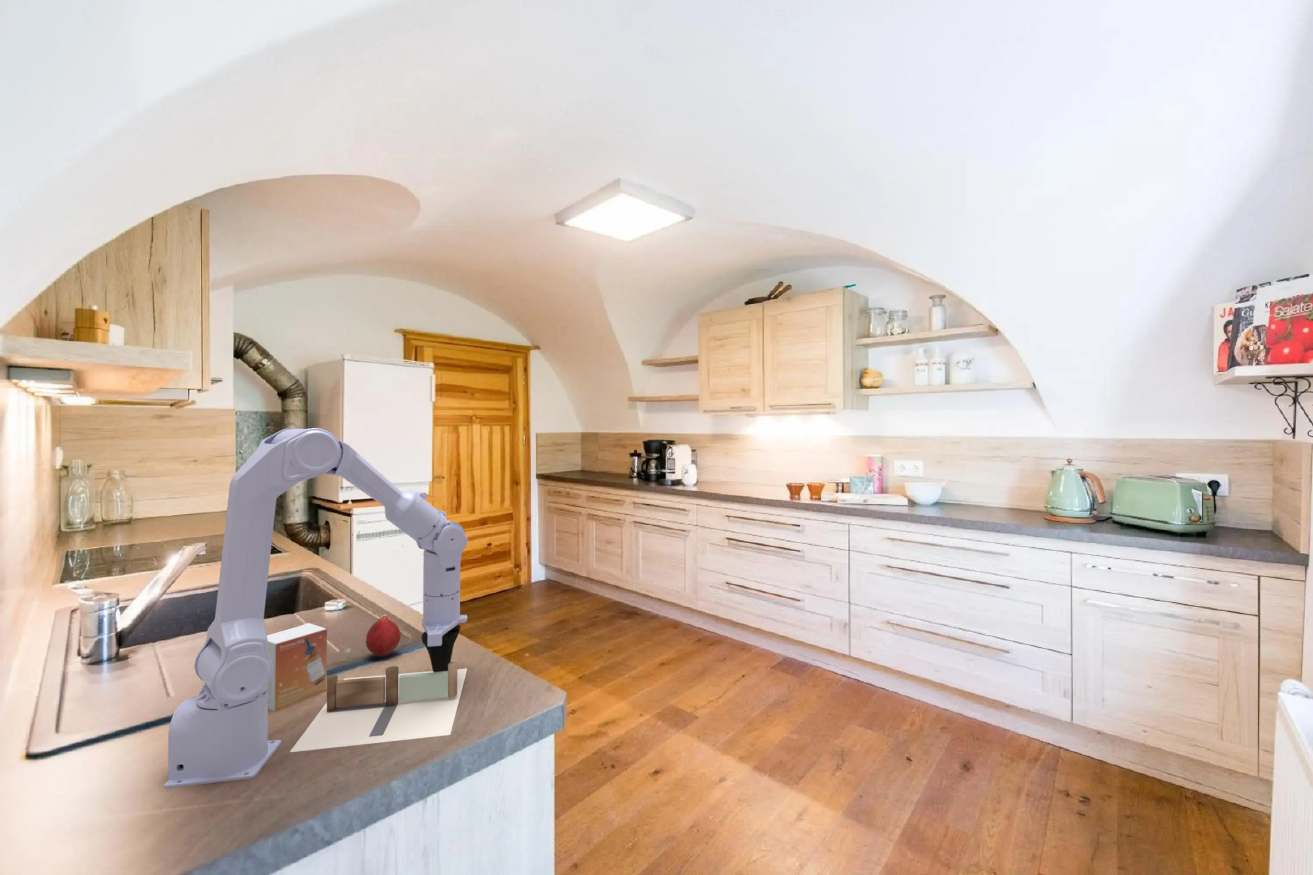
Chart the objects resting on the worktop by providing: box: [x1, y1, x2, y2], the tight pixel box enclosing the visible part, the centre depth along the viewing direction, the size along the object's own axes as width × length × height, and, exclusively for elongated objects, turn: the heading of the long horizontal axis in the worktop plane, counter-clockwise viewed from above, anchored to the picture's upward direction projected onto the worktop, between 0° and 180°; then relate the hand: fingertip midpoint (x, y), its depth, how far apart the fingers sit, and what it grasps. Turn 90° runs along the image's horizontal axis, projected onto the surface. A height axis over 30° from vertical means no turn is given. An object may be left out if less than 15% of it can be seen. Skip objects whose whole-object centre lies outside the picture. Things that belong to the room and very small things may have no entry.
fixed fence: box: [326, 665, 400, 712], centre depth 84 cm, size 10×2×6 cm, turn 103°
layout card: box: [289, 667, 468, 753], centre depth 85 cm, size 20×22×1 cm
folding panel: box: [399, 661, 458, 702], centre depth 87 cm, size 8×1×5 cm, turn 103°
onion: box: [365, 614, 402, 658], centre depth 104 cm, size 6×6×8 cm
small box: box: [267, 622, 328, 712], centre depth 88 cm, size 8×6×10 cm
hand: (441, 673), depth 92 cm, fingers closed
